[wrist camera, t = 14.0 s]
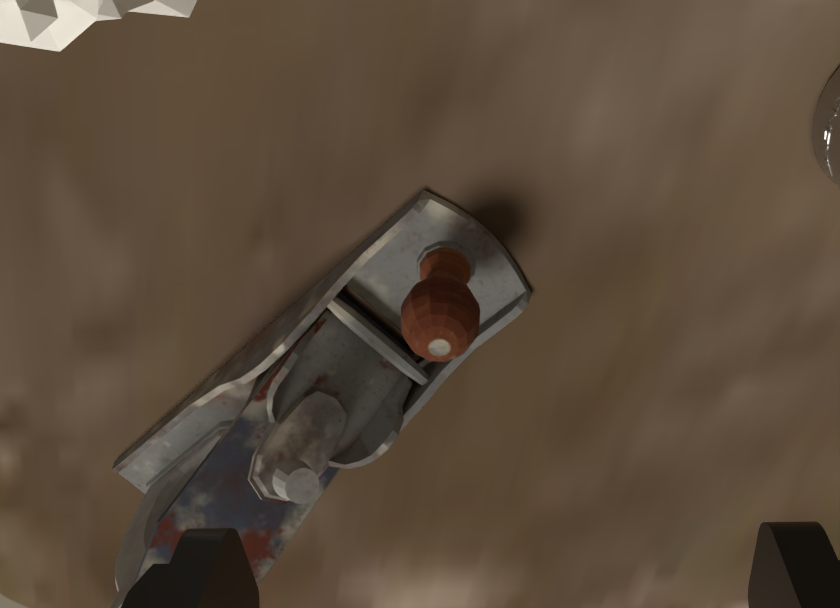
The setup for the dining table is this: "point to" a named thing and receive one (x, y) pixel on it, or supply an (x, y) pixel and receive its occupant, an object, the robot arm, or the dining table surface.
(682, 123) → the dining table surface
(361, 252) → the hand plane
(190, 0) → the figurine
